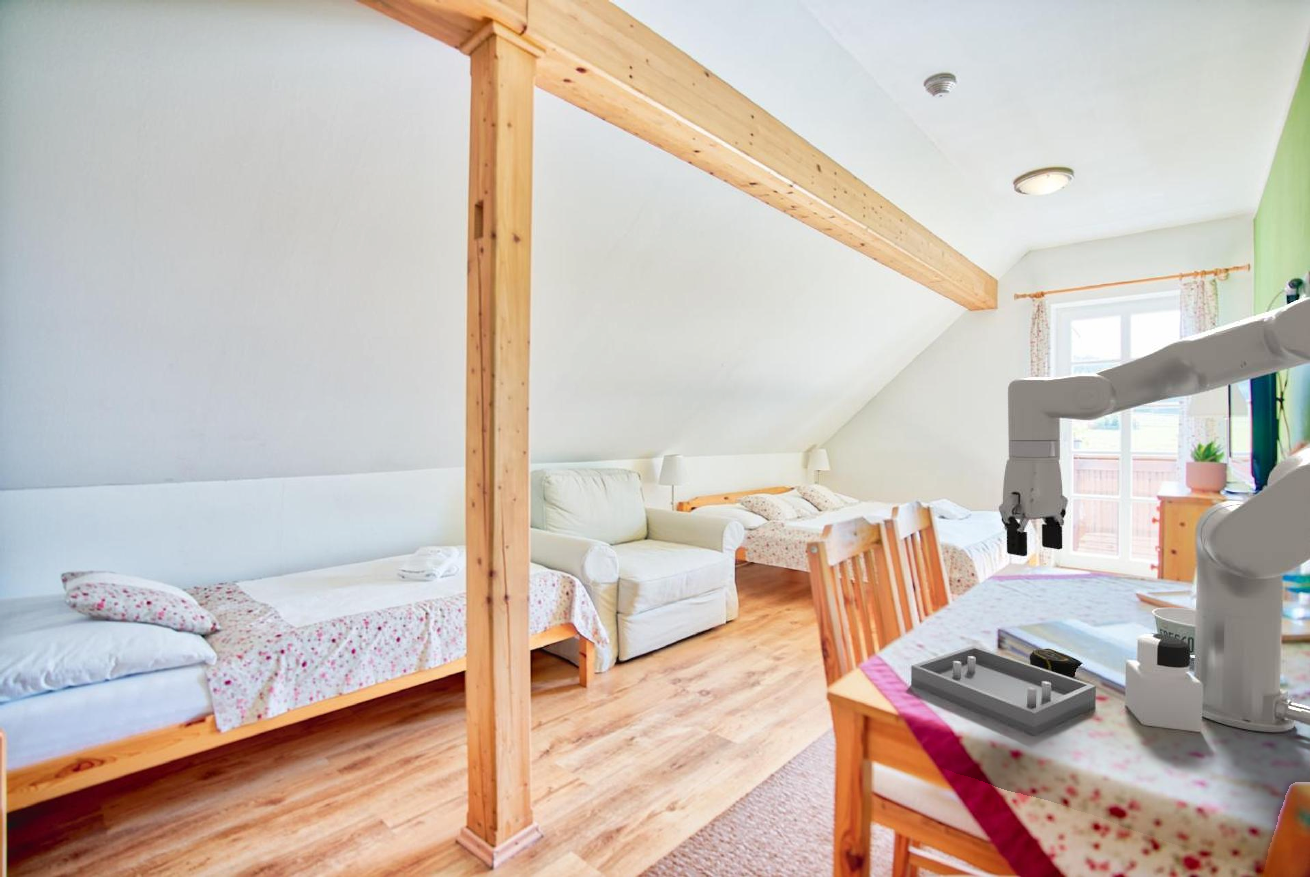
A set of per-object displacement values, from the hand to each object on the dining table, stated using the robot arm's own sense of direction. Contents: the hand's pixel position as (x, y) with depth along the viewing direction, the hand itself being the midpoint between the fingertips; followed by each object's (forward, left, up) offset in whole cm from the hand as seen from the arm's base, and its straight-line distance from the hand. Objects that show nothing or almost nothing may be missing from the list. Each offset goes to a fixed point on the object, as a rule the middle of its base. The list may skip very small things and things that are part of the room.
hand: (1034, 551), depth 110 cm
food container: (-10, -36, -22) cm, 43 cm away
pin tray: (-2, +13, -21) cm, 25 cm away
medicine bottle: (-19, 0, -22) cm, 29 cm away
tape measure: (-2, -3, -22) cm, 22 cm away
